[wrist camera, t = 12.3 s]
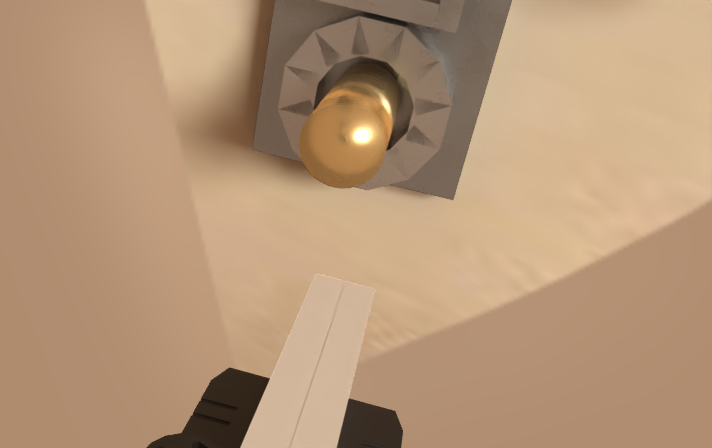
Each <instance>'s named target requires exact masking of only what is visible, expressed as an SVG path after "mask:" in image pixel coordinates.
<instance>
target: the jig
mask: <svg viewBox="0 0 712 448" xmlns="http://www.w3.org/2000/svg"><path fill="white" fill-rule="evenodd" d="M511 2H512V0H275V3H274V10H273V16H272V23H271V29H270V36H269V42H268V49H267V56H266V62H265V69H264V75H263V82H262V88H261V95H260V101H259V108H258V115H257V121H256V128H255V134H254V141H253V147H252V150H256V151H260V152H264V153H268V154H272V155H276V156H280V157H284V158H288V159H292V160H296V161H300V162H302V159H301V156H300V152H299V137H300V133H301V130H302V127H303V126H304V124H305V122H306V121H307V119H308V118H309V117H310V115H311V114H312V113H313V112H314V110H315V109H316V108H317V106H318V105H319V104H320V102H321V101H322V100H323V98H324V97H325V96H326V94H327V93H328V92H329V91H330V89H331V88H332V87H333V85H334V84H335V83H336V81H337V80H338V79H339V77H340V76H341V75H342V74H343V73H344V72H345V71H346V70H347V69H349V68H350V67H352V66H354V65H357V64H362V63H371V64H376V65H379V66H381V67H383V68H385V69H386V70H387V71H389V72H390V73H391V74H392V75H393V77H394V78H395V79H396V81H397V83H398V86H399V89H400V94H401V101H400V106H399V109H398V113H397V116H396V119H395V123H394V126H393V129H392V132H391V136H390V139H389V142H388V146H387V149H386V152H385V155H384V159H383V162H382V164H381V167H380V168H379V170H378V172H377V173H376V174H375V175H374V176H373V177H372V178H371V179H370V180H368V181H367V182H365V183H364V184H362V185H359V186H356V188H360V189H364V190H370V189H374V188H378V187H382V186H385V185H389V184H391V185H395V186H399V187H403V188H407V189H411V190H415V191H419V192H423V193H426V194H430V195H434V196H438V197H442V198H446V199H450V200H453V199H454V195H455V192H456V189H457V185H458V182H459V178H460V175H461V172H462V168H463V165H464V161H465V158H466V155H467V151H468V148H469V145H470V141H471V138H472V134H473V131H474V128H475V124H476V121H477V117H478V114H479V111H480V107H481V104H482V100H483V97H484V94H485V90H486V87H487V83H488V80H489V77H490V73H491V70H492V66H493V63H494V60H495V56H496V53H497V49H498V46H499V43H500V39H501V36H502V33H503V29H504V26H505V22H506V19H507V16H508V12H509V9H510V5H511Z"/></svg>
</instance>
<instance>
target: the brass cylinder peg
mask: <svg viewBox="0 0 712 448" xmlns="http://www.w3.org/2000/svg"><path fill="white" fill-rule="evenodd" d="M400 101H401V94H400V89H399V86H398V83H397V81H396V79H395V78H394V77H393V75H392V74H391V73H390V72H389V71H387V70H386V69H385V68H383V67H381V66H379V65H376V64H371V63H362V64H357V65H354V66H352V67H350V68H349V69H347V70H346V71H345V72H344V73H343V74H342V75H341V76H340V77H339V79H338V80H337V81H336V83H335V84H334V85H333V87H332V88H331V89H330V91H329V92H328V93H327V94H326V96H325V97H324V98H323V100H322V101H321V102H320V104H319V105H318V106H317V108H316V109H315V110H314V112H313V113H312V114H311V115H310V117H309V118H308V119H307V121H306V122H305V124H304V126H303V127H302V130H301V133H300V137H299V152H300V156H301V159H302V162H303V164H304V166H305V167H306V169H307V170H308V171H309V172H310V174H311V175H312V176H313V177H315V178H316V179H317V180H319V181H320V182H322V183H324V184H326V185H328V186H332V187H336V188H352V187H356V186H359V185H362V184H364V183H365V182H367V181H368V180H370V179H371V178H372V177H373V176H374V175H375V174H376V173H377V172H378V170H379V168H380V167H381V164H382V162H383V159H384V155H385V152H386V149H387V146H388V142H389V139H390V136H391V132H392V129H393V126H394V123H395V119H396V116H397V113H398V109H399V106H400Z"/></svg>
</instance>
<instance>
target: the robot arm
mask: <svg viewBox="0 0 712 448" xmlns="http://www.w3.org/2000/svg"><path fill="white" fill-rule="evenodd" d="M375 289H376V288H372V287H368V286H365V285H361V284H357V283H353V282H350V281H346V280H342V279H338V278H334V277H331V276H327V275H323V274H319V273H315V276H314V278H313V280H312V283H311V285H310V287H309V290H308V292H307V294H306V297H305V299H304V301H303V304H302V306H301V308H300V311H299V313H298V315H297V317H296V320H295V322H294V324H293V327H292V329H291V331H290V334H289V336H288V338H287V341H286V343H285V345H284V348H283V350H282V352H281V355H280V357H279V359H278V362H277V364H276V366H275V368H274V371H273V373H272V375H271V378H266V377H262V376H259V375H255V374H251V373H248V372H244V371H240V370H237V369H233V368H228V369H227V370H225V371H224V372H222V373H221V374H220V375H218V376H217V377H215V378H214V379H212V380H211V382H210V383H209V385H208V387H207V389H206V391H205V392H204V394H203V396H202V398H201V401H199V403H198V405H197V407H196V408H195V410H194V412H193V415H192V416H191V417H190V419H189V421H188V423H187V424H186V426H185V428H184V430H183V431H182V433H180V434H174V435H167V436H164V437H162V438H160V439H158V440H156V441H154V442H152V443H151V444H150V445H149V446H148V447H147V448H401V444H402V435H403V430H402V427H401V425H400V422H399V420H398V417H397V414H396V412H395V411H393V410H389V409H386V408H382V407H379V406H374V405H371V404H367V403H364V402H360V401H356V400H353V399H349V395H350V391H351V387H352V383H353V378H354V374H355V371H356V367H357V362H358V358H359V354H360V350H361V346H362V342H363V338H364V334H365V330H366V326H367V322H368V318H369V314H370V309H371V305H372V301H373V297H374V293H375Z"/></svg>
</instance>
